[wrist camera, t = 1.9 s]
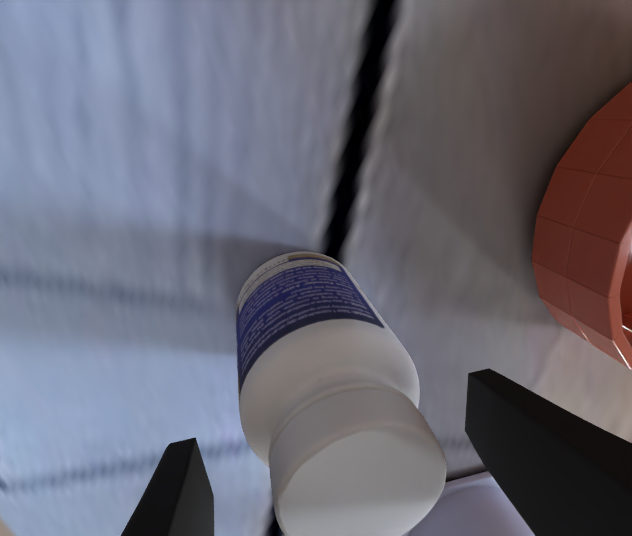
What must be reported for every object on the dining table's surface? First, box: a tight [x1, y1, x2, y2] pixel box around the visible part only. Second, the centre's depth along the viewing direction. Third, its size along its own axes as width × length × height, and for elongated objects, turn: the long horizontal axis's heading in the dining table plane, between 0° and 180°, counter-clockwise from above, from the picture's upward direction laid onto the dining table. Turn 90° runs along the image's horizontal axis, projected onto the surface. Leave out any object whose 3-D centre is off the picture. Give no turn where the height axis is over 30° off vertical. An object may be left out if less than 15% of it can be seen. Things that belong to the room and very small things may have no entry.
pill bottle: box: [236, 251, 447, 536], centre depth 12 cm, size 5×5×9 cm
